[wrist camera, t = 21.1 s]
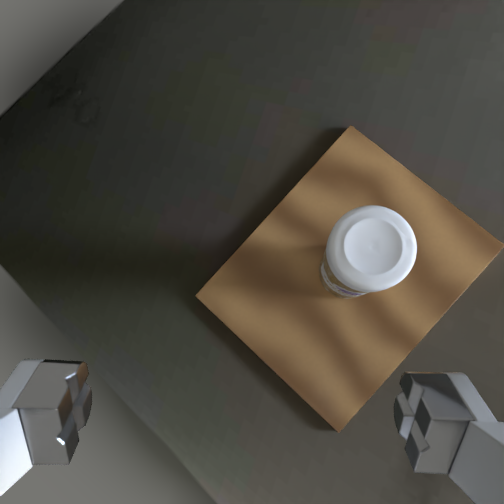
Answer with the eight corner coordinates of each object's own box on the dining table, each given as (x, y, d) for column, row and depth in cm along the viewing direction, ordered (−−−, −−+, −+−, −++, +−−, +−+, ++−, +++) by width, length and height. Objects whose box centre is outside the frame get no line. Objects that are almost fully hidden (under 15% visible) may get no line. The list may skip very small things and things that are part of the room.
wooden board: (337, 431, 34) (338, 433, 33) (196, 296, 37) (194, 295, 36) (502, 246, 34) (505, 245, 34) (349, 127, 37) (350, 124, 37)
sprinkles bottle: (318, 299, 35) (328, 290, 22) (318, 244, 36) (327, 203, 22) (375, 299, 34) (421, 291, 21) (374, 244, 35) (417, 202, 22)
